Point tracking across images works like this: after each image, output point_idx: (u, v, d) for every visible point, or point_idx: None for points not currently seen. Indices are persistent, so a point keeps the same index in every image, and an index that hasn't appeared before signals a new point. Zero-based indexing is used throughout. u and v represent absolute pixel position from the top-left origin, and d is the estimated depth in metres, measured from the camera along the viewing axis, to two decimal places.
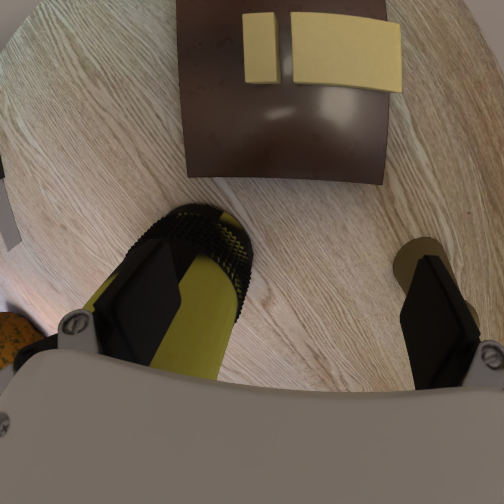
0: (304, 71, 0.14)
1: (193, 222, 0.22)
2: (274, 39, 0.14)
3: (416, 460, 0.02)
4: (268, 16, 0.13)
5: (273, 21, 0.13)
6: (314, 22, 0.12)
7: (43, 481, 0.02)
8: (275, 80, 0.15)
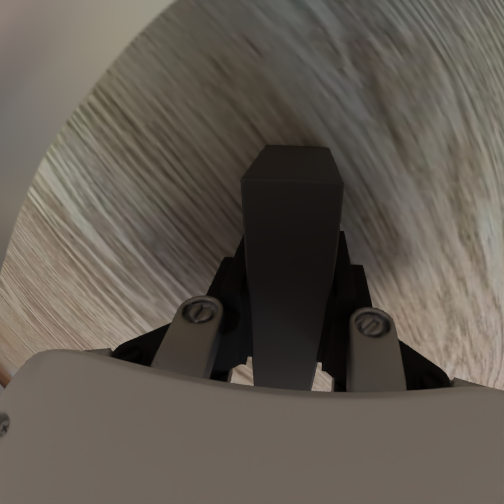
0: None
1: None
2: None
3: (416, 460, 0.02)
4: None
5: None
6: None
7: (43, 481, 0.02)
8: None
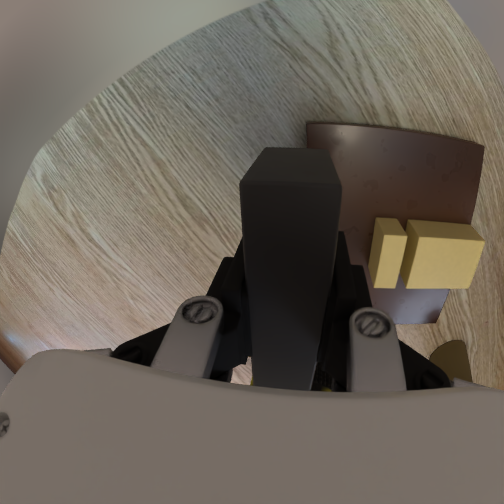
0: (415, 282, 0.21)
1: None
2: (402, 258, 0.20)
3: (416, 460, 0.02)
4: (403, 239, 0.19)
5: (405, 244, 0.19)
6: (432, 246, 0.19)
7: (43, 481, 0.02)
8: (394, 287, 0.22)
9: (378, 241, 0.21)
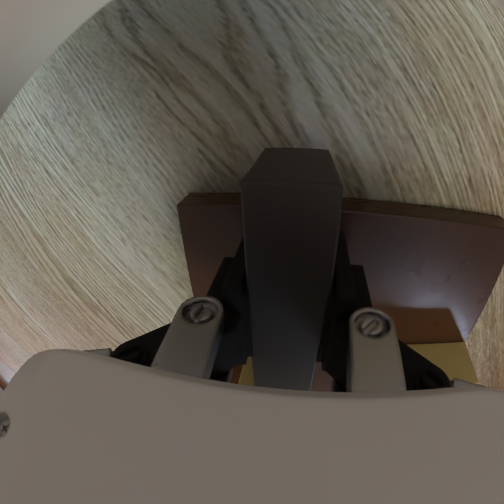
0: None
1: None
2: None
3: (416, 460, 0.02)
4: None
5: None
6: None
7: (43, 481, 0.02)
8: None
9: None
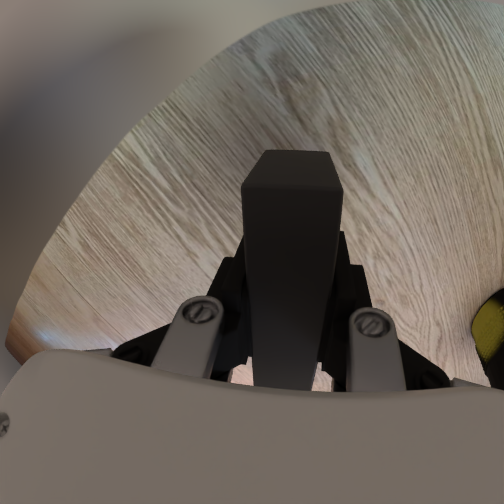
0: None
1: None
2: None
3: (416, 460, 0.02)
4: None
5: None
6: None
7: (43, 481, 0.02)
8: None
9: None
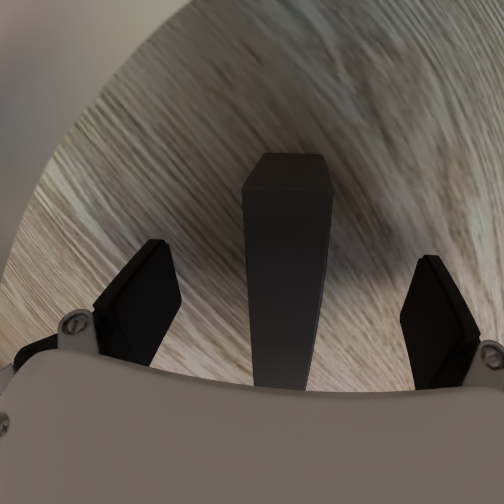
0: None
1: None
2: None
3: (416, 460, 0.02)
4: None
5: None
6: None
7: (43, 481, 0.02)
8: None
9: None
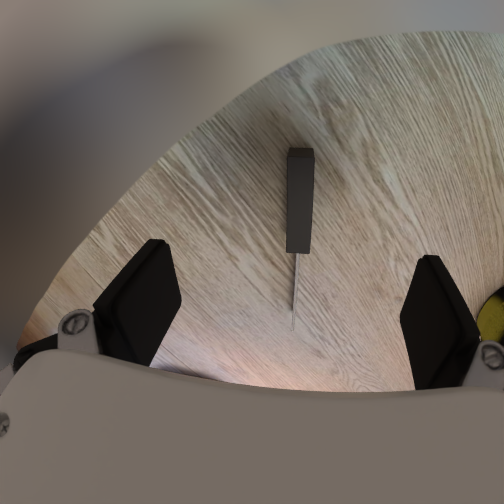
0: None
1: None
2: None
3: (416, 460, 0.02)
4: None
5: None
6: None
7: (43, 481, 0.02)
8: None
9: None
